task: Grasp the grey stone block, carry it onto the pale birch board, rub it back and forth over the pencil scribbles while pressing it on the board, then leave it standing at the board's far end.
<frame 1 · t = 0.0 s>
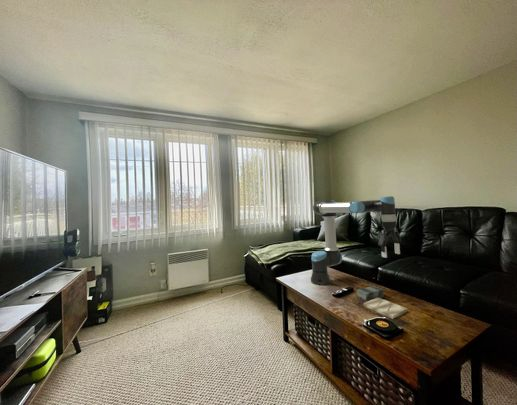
hand: (391, 255, 128), 28 cm above the table, fingers open, 13 cm apart
stone block: (369, 297, 135), on the table
board: (384, 308, 119), on the table
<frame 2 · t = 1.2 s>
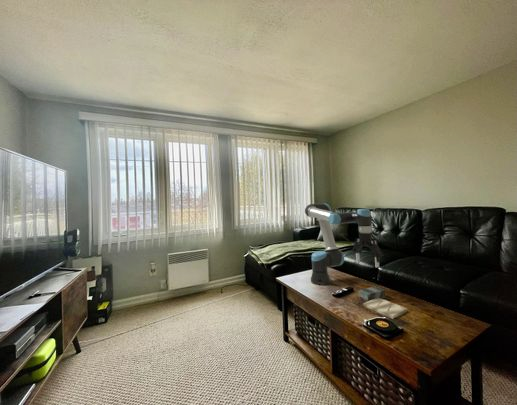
hand: (367, 264, 136), 21 cm above the table, fingers open, 13 cm apart
stone block: (371, 297, 134), on the table
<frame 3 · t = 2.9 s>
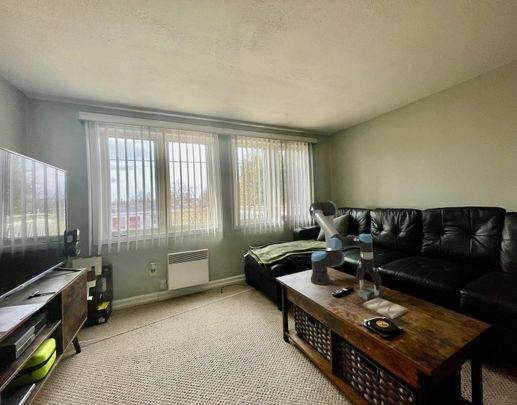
hand: (369, 292, 135), 3 cm above the table, fingers open, 9 cm apart
stone block: (370, 296, 135), on the table, touching gripper
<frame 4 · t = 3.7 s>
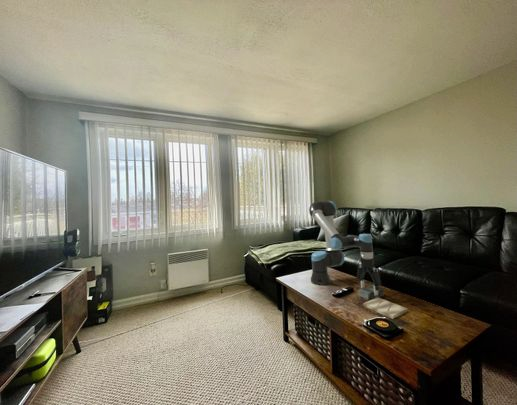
hand: (369, 292, 135), 3 cm above the table, fingers closed on stone block, 8 cm apart
stone block: (370, 296, 136), on the table, touching gripper
when the fingers open (4 cm above the table, at t = 8.4 s): stone block moves 7 cm, resting on board.
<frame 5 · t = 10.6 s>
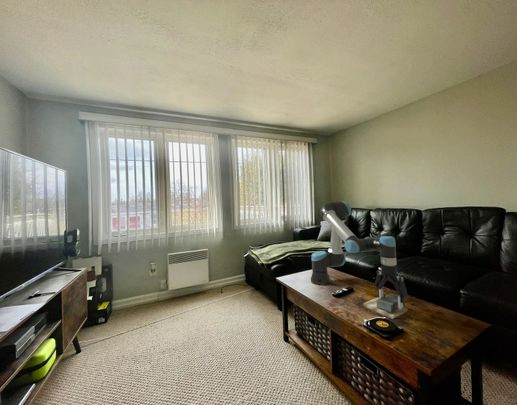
hand: (390, 304, 116), 4 cm above the table, fingers open, 10 cm apart
stone block: (390, 307, 118), point 1 cm above the table, touching board, gripper
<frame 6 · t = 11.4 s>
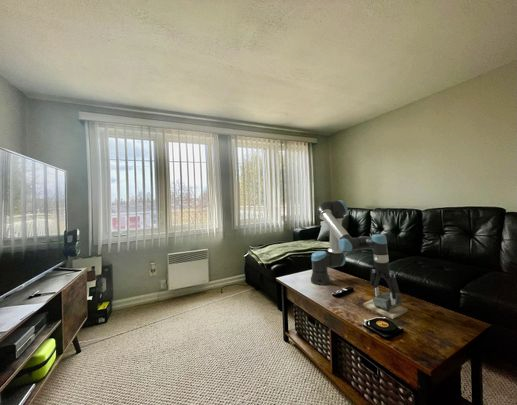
hand: (385, 301, 119), 4 cm above the table, fingers closed on stone block, 8 cm apart
stone block: (387, 305, 119), point 2 cm above the table, touching gripper
when the fingers open (4 cm above the table, at t = 12.5 s): stone block stays where it is, resting on board.
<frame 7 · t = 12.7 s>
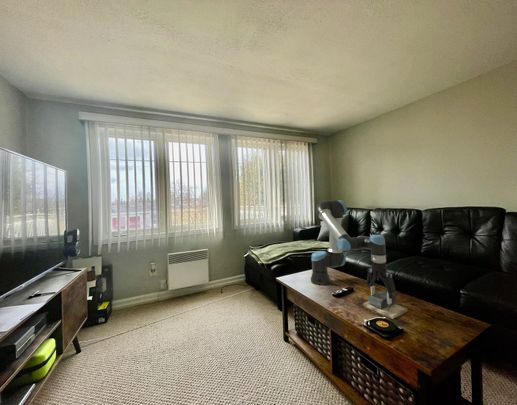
hand: (381, 300, 121), 4 cm above the table, fingers open, 9 cm apart
stone block: (381, 303, 122), point 1 cm above the table, touching board, gripper
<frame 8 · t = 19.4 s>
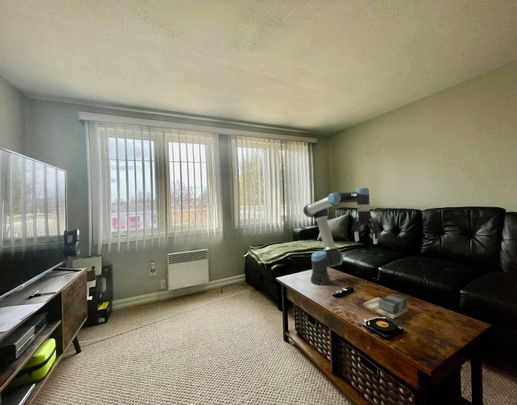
hand: (365, 242, 139), 35 cm above the table, fingers open, 13 cm apart
stone block: (392, 308, 117), point 1 cm above the table, touching board
at the end: stone block inside the target area (1.6 cm from its centre), point 1.3 cm above the table; the gripper is holding nothing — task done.
